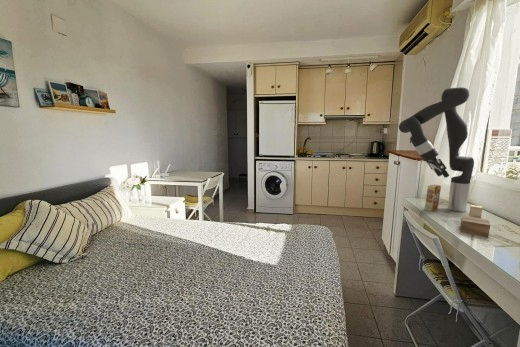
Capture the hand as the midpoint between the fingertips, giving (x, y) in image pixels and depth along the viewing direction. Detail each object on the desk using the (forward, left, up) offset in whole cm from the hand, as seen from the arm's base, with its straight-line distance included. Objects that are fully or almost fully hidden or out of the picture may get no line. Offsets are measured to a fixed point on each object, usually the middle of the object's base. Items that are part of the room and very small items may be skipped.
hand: (443, 176), depth 132 cm
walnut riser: (+9, +15, -24) cm, 30 cm away
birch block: (-2, +15, -24) cm, 28 cm away
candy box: (-21, -5, -24) cm, 33 cm away
